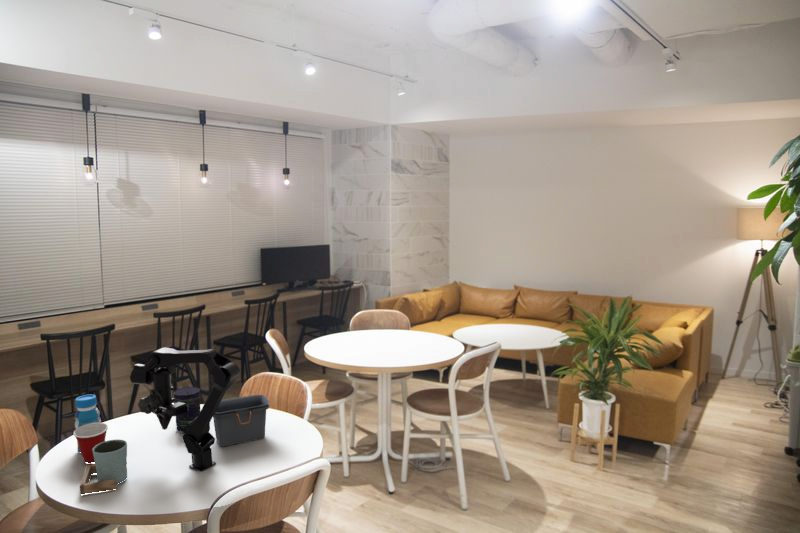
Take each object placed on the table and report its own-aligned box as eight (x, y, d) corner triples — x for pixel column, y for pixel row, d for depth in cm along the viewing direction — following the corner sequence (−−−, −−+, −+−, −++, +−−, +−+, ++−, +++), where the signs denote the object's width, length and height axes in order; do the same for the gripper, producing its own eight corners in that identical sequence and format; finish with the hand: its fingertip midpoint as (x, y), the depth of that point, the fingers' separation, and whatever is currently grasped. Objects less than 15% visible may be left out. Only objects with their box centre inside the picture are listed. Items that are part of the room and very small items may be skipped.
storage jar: (175, 425, 240) (172, 389, 238) (200, 420, 244) (198, 385, 242) (177, 433, 231) (174, 396, 229) (203, 429, 235) (201, 392, 233)
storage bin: (264, 427, 235) (262, 392, 234) (275, 441, 222) (273, 404, 220) (208, 438, 225) (206, 402, 224) (217, 454, 212) (214, 415, 210)
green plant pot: (121, 470, 201) (118, 436, 199) (135, 479, 194) (132, 444, 193) (90, 482, 193) (86, 447, 192) (103, 491, 187) (100, 455, 185)
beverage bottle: (90, 456, 212) (85, 402, 210) (71, 453, 215) (66, 400, 213) (108, 446, 220) (104, 394, 218) (90, 443, 223) (86, 392, 220)
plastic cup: (72, 470, 202) (69, 436, 200) (80, 457, 212) (77, 424, 210) (107, 465, 205) (104, 432, 203) (113, 452, 215) (110, 420, 213)
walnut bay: (121, 469, 201) (120, 460, 201) (116, 490, 187) (115, 480, 187) (87, 475, 198) (86, 465, 197) (80, 496, 184) (79, 486, 183)
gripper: (123, 387, 200) (126, 432, 202) (159, 397, 191) (162, 443, 193) (152, 378, 210) (154, 421, 212) (188, 387, 200) (190, 431, 202)
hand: (164, 429), depth 205 cm, fingers closed
